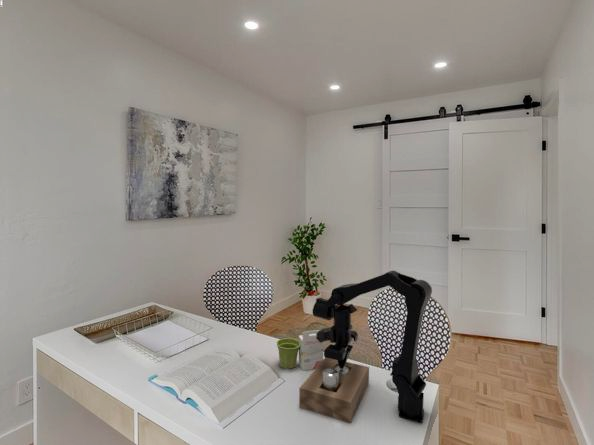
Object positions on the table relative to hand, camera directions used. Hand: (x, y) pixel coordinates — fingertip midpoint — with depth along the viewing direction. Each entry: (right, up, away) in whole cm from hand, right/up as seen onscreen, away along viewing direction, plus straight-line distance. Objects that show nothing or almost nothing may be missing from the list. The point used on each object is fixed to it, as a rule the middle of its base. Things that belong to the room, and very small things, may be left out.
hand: (341, 368), depth 107 cm
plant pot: (-19, -6, +14) cm, 24 cm away
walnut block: (-2, -7, -5) cm, 8 cm away
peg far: (0, -6, 0) cm, 6 cm away
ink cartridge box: (-10, -6, +14) cm, 18 cm away
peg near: (-5, -3, -10) cm, 11 cm away
